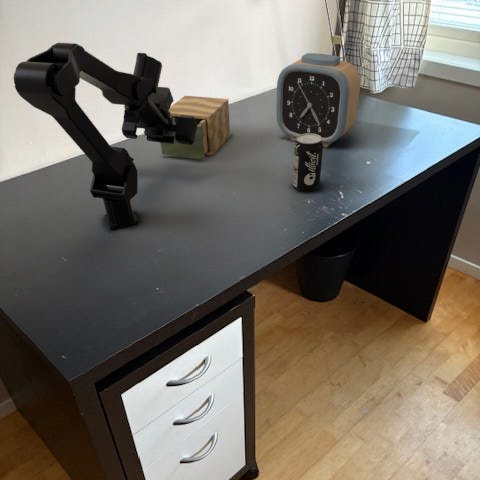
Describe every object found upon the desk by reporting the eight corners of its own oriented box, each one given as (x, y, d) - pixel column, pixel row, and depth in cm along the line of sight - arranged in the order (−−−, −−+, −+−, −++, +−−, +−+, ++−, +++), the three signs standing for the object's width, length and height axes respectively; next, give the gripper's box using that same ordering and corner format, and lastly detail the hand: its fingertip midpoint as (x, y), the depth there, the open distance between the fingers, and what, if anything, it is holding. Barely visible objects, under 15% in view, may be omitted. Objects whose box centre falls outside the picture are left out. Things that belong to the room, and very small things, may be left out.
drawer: (196, 166, 126) (193, 133, 120) (154, 161, 129) (149, 128, 123) (221, 140, 138) (219, 109, 132) (182, 136, 142) (178, 105, 136)
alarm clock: (275, 138, 140) (276, 57, 126) (290, 127, 146) (292, 48, 132) (340, 151, 132) (349, 65, 117) (353, 139, 138) (363, 56, 123)
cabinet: (212, 155, 133) (209, 116, 126) (168, 150, 136) (163, 112, 129) (230, 135, 143) (228, 98, 136) (188, 131, 147) (185, 95, 139)
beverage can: (324, 185, 117) (329, 137, 109) (308, 195, 113) (312, 146, 105) (303, 178, 120) (306, 130, 112) (287, 187, 117) (288, 138, 109)
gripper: (190, 81, 106) (212, 114, 121) (117, 76, 111) (147, 109, 126) (180, 129, 106) (203, 157, 121) (107, 122, 111) (138, 150, 126)
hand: (172, 142), depth 124 cm, fingers closed, pressing on drawer
